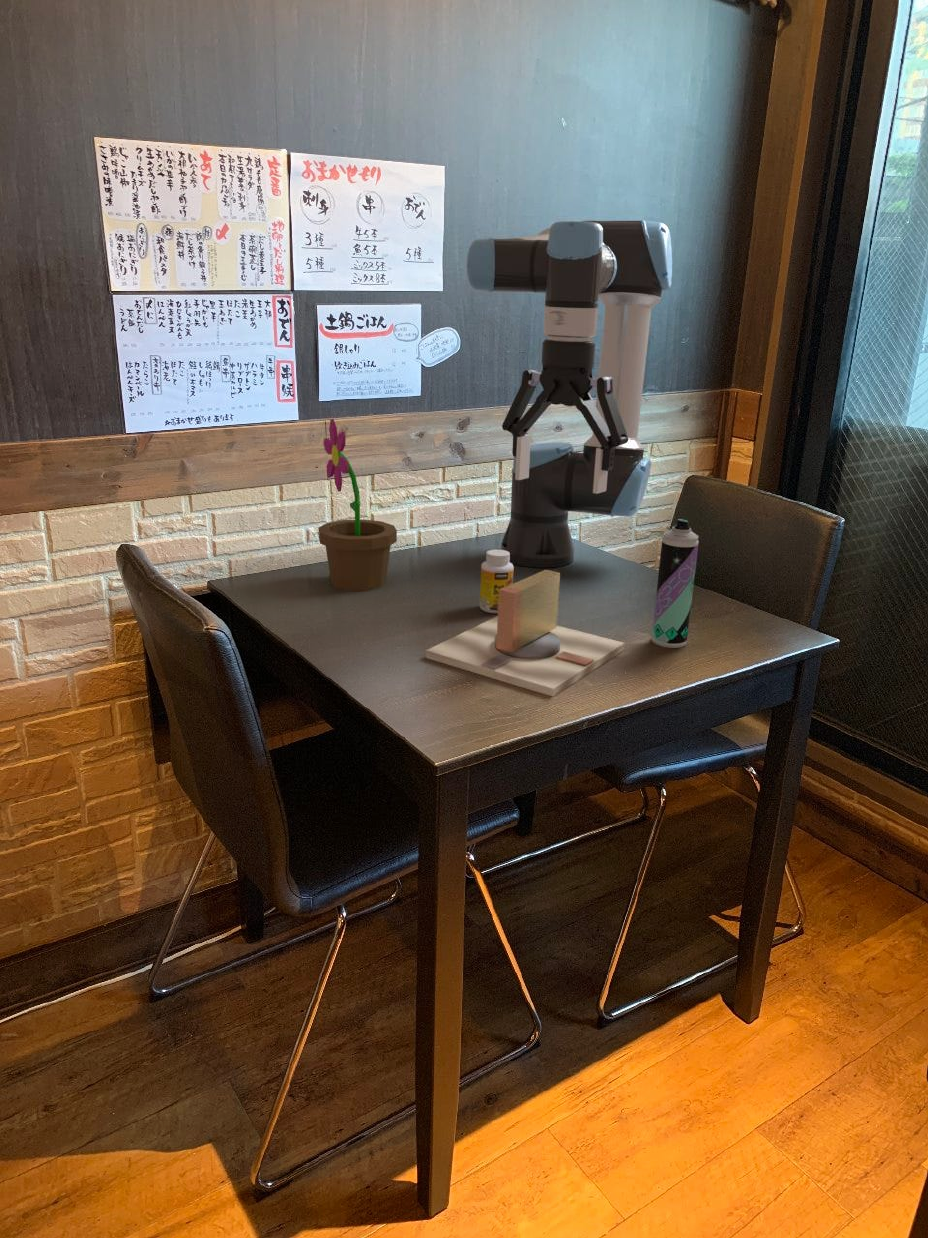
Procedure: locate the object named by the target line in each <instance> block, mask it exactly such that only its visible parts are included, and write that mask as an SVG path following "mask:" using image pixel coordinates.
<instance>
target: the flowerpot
mask: <svg viewBox="0 0 928 1238" xmlns="http://www.w3.org/2000/svg"><path fill="white" fill-rule="evenodd" d="M328 429H329V430H328V431H329V438H328V437H327V438H323V440H322V441H323V448H324V451H325V452H326V454H327V455H331V459H329V460H328V461H327V464H326V477H327V478H328V479H329V478H332V477H334V478H333V479H334V485H335V487H336V491H337V492H338V493H339V492H340V493H341V491H342V488H343V487H342V486H343V475H342V474H344V475H345V474H348V475H349V476H350V480H351V481H350V482H351V486H352V492H353V496H354V501H352V502H350V503H349V507H350V509H352V510H353V511H354V519H342V520H336V521H330V522H325V523H324V524H322V525H321V526H319V527H318V539H319V540H318V541H319V544H320V545H322V546H325V552H326V558H327V564H328V565H327V566H328V570H329V571H328V572H329V579H330V582H331V583H330V584H331V586H332V587H334V588H337V589H338V590H341V591H342V590H343V591H350V592H363V591H366V592H367V591H372V590H377V589H381V588H382V587H384V585H386V583H387V577H388V567H389V561H390V560H389V559H390V554H391V552H390V551H391V546H392V545H393V544H395V543H397V542H398V541H397V539H398V534H397V533H398V530H397V529H396V528H397V527H395V525H393V524H391V523H387V522H384V521H380V520H371V519H361V508H360V507H361V500H360V499H361V497H360V490H359V489H360V488H359V487H358V486H359V485H358V481H357V477H356V474H355V471H354V470H353V468H352V466H351V463H350V462H349V460H348V457H346V456H345V455H344V453H343V452H344V449H345V447H346V433H345V432H344V431H342V432H340V433H338V428H337V424H336V423H335V420H334V418H331V419H330V421H329V428H328Z"/></svg>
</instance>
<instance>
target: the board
mask: <svg viewBox="0 0 928 1238" xmlns="http://www.w3.org/2000/svg"><path fill="white" fill-rule="evenodd" d="M497 621H498V615H497V616H495V617H493V618H490V619H489V620H486V621H484V622H482V623H480V624H478V625H476V626H474V627H471V628H470V629H468V630H466V631H465V630H464V631H463V632H462V633H459V634H458V635H455V636H453V637H451V638H449V639H447V640H445V641H443V642H441V643H438V644H436V645H435V646H432V647H430V648H428V649H426V651H425V659H428V660H432V661H435V662H438V663H442V664H445V665H449V666H451V667H453V668H454V667H455V668H458V669H461V670H464V671H467V672H471V673H474V674H477V675H481V676H484V677H486V678H487V677H488V678H490V679H494V680H497V681H500V682H503V683H507V684H510V685H513V686H515V687H516V686H517V687H520V688H523V689H527V690H529V691H533V692H536V693H539V694H543V695H546V696H550V697H552V698H553V697H555V696H556V695H559V694H560V693H561V692H562V691H564V690H566V689H567V688H569V687H570V686H572V685H573V684H575V683H576V682H578V681H580V680H581V679H582V678H584V677H585V676H587V675H588V674H590V673H592V672H593V671H594V670H596V669H597V668H599V667H600V666H603V664H605V663H607V662H608V661H610V660H611V659H613V658H615V657H616V656H617V655H618V654H620V653H622V652H623V651H625V646H626V645H625V642H623V641H619V640H615V639H612V638H611V639H610V638H606V637H603V636H599V635H597V634H596V635H595V634H591V633H588V632H584V631H580V630H576V629H572V628H569V627H564V626H560V625H557V628H555V629H553V630H551V631H550V632H548V633H546V634H544V635H542V636H540V637H539V638H537V639H536V641H534V642H529V643H528V644H526V645H524V646H522V647H520V648H519V649H518V650H516V651H514V652H512V653H511V652H508V651H504V650H501V649H497V648H496V644H497Z"/></svg>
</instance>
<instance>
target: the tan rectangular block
mask: <svg viewBox="0 0 928 1238" xmlns="http://www.w3.org/2000/svg"><path fill="white" fill-rule="evenodd" d="M560 579H561V572H558V571H554V570H553V571H552V570H550V569H549V570H548V569H544V570H541V571H540V572H537V573H535V574H532V575H530V576H528V577H525V578H523V579H520V580H519V581H517V582H513V584H512V585H509V586H506V587H504V588H501V589H499V599H498V614H497V616H498V621H497V644H496V648H497V649H501V650H504V651H508V652H511V653H512V652H514V651H516V650H518V649H519V648H520V647H522V646H524V645H526V644H528V643H529V642H534V641H536V639H537V638H539V637H540V636H542V635H544V634H546V633H548V632H550V631H551V630H553V629H555V628H557V626H558V614H559V613H558V611H559V597H560V584H561V583H560V582H561V581H560Z"/></svg>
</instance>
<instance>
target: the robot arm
mask: <svg viewBox="0 0 928 1238" xmlns="http://www.w3.org/2000/svg"><path fill="white" fill-rule="evenodd" d="M670 233H671V232H670V229H669V227H668V226H667V225H666V224H665V223H664V222H659V221H649V220H645V219H642V220H581V221H574V220H573V221H569V220H568V221H566V220H565V221H556V222H554V223H553V224H551V226H550V227H548V228H546V229H544V230H542V231H541V232H539V233H538V235H537V234H536V235H530V236H529V235H528V236H520V237H514V238H513V237H512V238H493V237H489V238H478V239H474V240H473V241H472V243H471V244H470V246H469V249H468V251H467V256H466V257H467V259H466V274H467V280H468V282H469V284H470V286H471V287H472V288H473V289H474V290H477V291H485V292H486V291H487V292H490V293H493V292H510V293H511V292H517V293H523V292H525V293H539V294H540V293H541V294H543V293H544V294H545V301H544V316H543V335H544V336H546V337H547V338H546V339H544V340H543V341H542V348H541V349H542V350H541V365H542V370H541V372H539V371H538V370H537V369H528V370H526V369H525V370H524V371H523V372H522V376H521V377H522V378H521V383H520V387H519V389H518V390H517V393H516V395H515V397H514V398H513V402H512V404H511V406H510V408H509V410H508V412H507V413H506V416H505V418H504V420H503V422H502V425H501V428H502V431H506V432H507V431H508V433H510V434H511V435H512V451H511V452H512V453H511V454H512V457H513V461H512V462H513V463H512V469H511V473H512V474H511V476H512V477H511V493H510V498H511V499H510V500H511V501H510V518H509V522H508V525H507V527H506V531H505V533H504V535H503V538H502V541H501V544H500V549H499V550H505V551H508V552H509V553H510V560H509V562H510V563H512V564H513V565H517V566H521V567H527V568H528V567H530V568H542V569H543V568H544V569H545V568H556V567H562V566H567V565H569V564H571V563H573V561H574V559H575V558H574V557H575V547H574V544H573V543H574V542H573V539H572V535H571V531H570V527H569V521H568V520H569V512H573V513H574V512H575V513H582V514H583V513H585V514H592V515H593V514H595V515H603V516H604V515H605V516H610V517H627V518H628V517H632V516H634V515H636V513H637V512H638V511H639V509H640V507H641V505H642V502H643V500H644V499H643V498H644V496H645V492H646V489H647V487H648V486H647V485H648V481H649V478H650V477H649V476H650V470H651V459H650V458H648V457H647V456H644V452H645V451H644V450H645V447H644V446H643V445H642V443H641V441H639V440H638V434H639V424H640V416H641V407H642V398H643V397H642V396H643V389H644V388H643V387H644V378H645V371H646V362H647V355H648V354H647V352H648V342H649V335H650V324H651V315H652V309H653V308H654V307H655V306H656V305H658V304H659V303H660V301H661V299H662V292H663V291H667V290H669V289H671V286H672V277H673V253H672V252H673V251H672V250H673V249H672V238H671V234H670ZM599 299H600V301H601V302H602V304H603V305H604V308H605V309H604V317H603V318H604V319H603V329H602V338H601V348H600V349H601V350H600V359H599V368H598V369H599V370H598V377H596V378H595V377H594V376H593V369H594V364H595V352H596V344H595V342H594V341H593V340H592V338H595V337H596V336H597V328H598V327H597V325H598V324H597V323H598V307H599V306H598V305H599ZM539 384H540V385H541V387H542V389H543V390H541V393H539V394H538V396H537V397H536V398H535V402H534V403H533V404H532V405H531V406H530V407H529V408H528V410H526V409H527V407H528V405H529V402H530V400H531V398H532V397H533V394H534V393H535V390H536V388H537V386H538V385H539ZM592 389H593V391H594V392H595V393H596V398H595V400H594V398H593V396H592V395H591V393H590V392H591V390H592ZM550 405H555V406H557V405H564V406H565V407H575V408H576V409H577V410H578V411H579V412H580V413H581V415H582V417H583V418H584V420H585V421H586V422H587V424H588V426H589V428H590V429H591V431H592V435H591V437H590V438H589V439H587V440H586V441H585V442H584V443H583V448H582V449H583V451H582V452H577V451H574V447H573V444H572V443H570V442H562V441H561V442H560V441H559V442H556V441H555V442H544V443H543V442H542V443H535V444H532V443H531V442H532V435H528V434H529V432H528V431H529V430H530V429H531V428H532V427H533V425H534V424H535V423H536V422H537V421H538V419H540V417H541V416H542V415H543V414H544V412H546V410H547V409H548V408H549V407H550ZM525 411H526V412H525ZM523 414H524V415H523Z"/></svg>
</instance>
